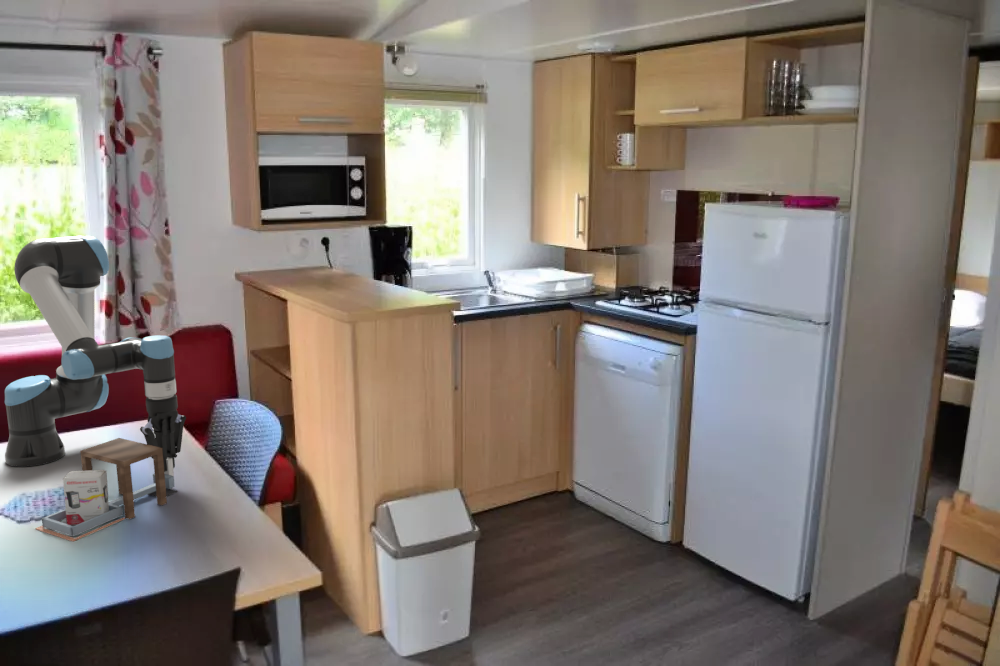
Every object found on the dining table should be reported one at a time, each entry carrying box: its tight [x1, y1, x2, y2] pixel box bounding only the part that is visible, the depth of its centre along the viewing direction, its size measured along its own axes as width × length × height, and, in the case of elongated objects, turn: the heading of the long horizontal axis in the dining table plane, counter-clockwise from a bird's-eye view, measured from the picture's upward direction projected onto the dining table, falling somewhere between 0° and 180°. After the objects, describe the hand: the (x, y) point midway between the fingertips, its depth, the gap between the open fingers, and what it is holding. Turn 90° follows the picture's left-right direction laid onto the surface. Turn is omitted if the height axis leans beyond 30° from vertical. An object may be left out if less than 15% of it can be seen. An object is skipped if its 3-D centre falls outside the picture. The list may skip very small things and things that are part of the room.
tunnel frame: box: [80, 437, 168, 520], centre depth 204 cm, size 16×11×15 cm
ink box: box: [62, 469, 110, 526], centre depth 196 cm, size 9×5×12 cm, turn 101°
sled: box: [41, 473, 175, 537], centre depth 203 cm, size 11×31×3 cm, turn 152°
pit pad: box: [147, 488, 178, 498], centre depth 214 cm, size 9×5×1 cm, turn 62°
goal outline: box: [35, 516, 126, 542], centre depth 195 cm, size 14×14×1 cm
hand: (168, 481), depth 217 cm, fingers closed
